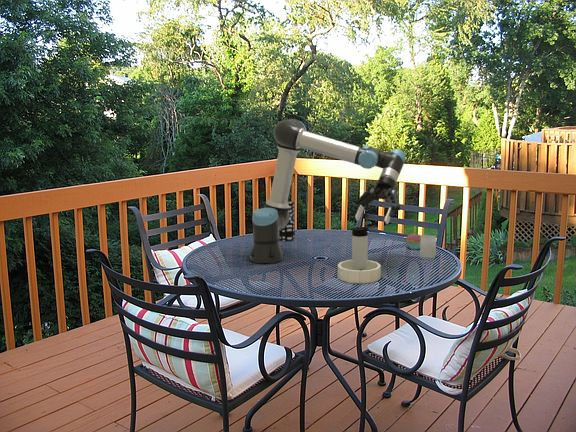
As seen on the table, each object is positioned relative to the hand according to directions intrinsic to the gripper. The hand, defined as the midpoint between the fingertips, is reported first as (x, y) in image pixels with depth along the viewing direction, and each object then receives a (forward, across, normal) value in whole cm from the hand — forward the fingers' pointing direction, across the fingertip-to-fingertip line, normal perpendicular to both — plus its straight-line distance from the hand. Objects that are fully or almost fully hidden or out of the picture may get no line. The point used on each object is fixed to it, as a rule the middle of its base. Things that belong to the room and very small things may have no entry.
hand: (371, 220), depth 226 cm
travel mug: (+22, 0, -8) cm, 23 cm away
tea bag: (-8, -12, -40) cm, 42 cm away
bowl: (+23, 0, -8) cm, 24 cm away
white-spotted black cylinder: (-4, +64, -35) cm, 73 cm away
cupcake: (-17, 0, -48) cm, 51 cm away
